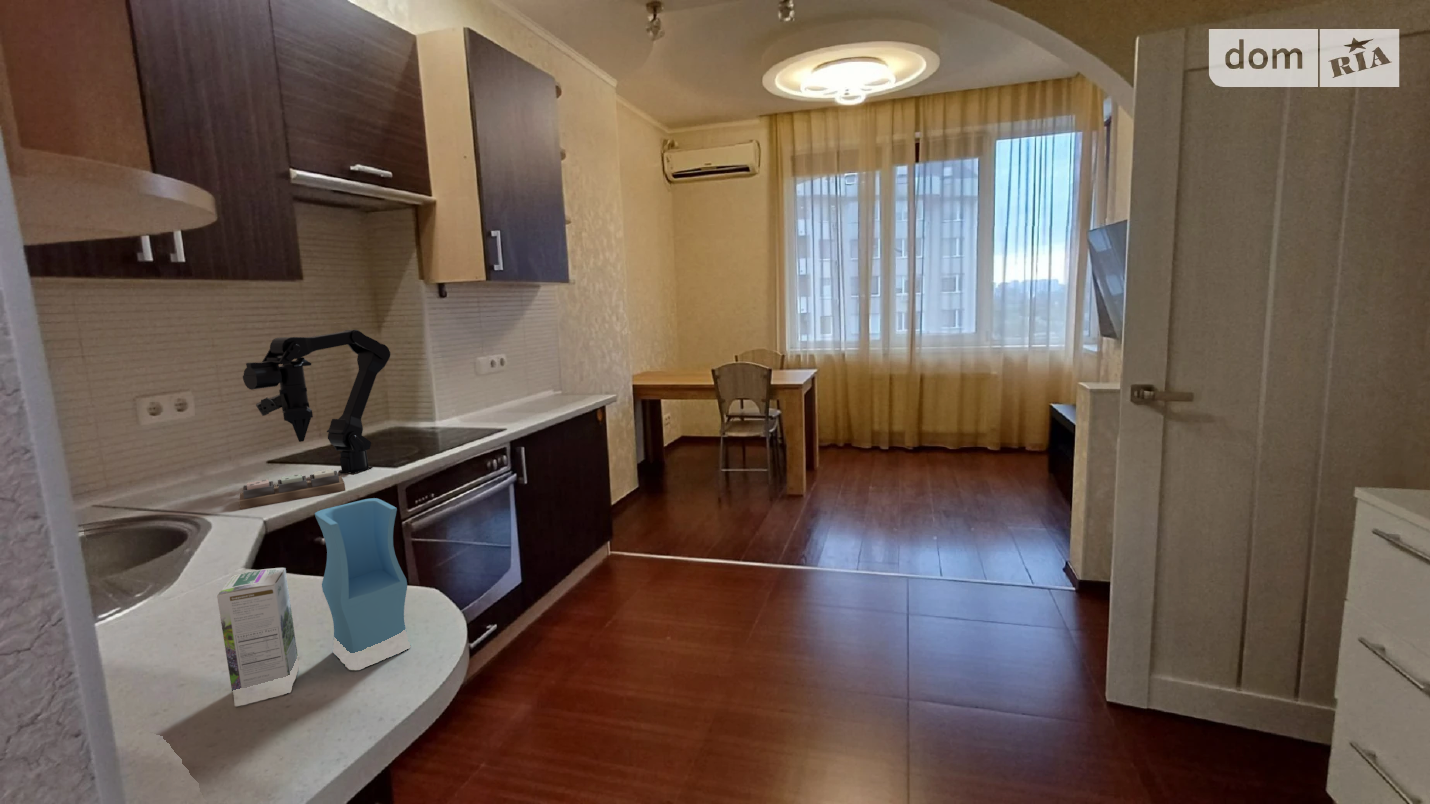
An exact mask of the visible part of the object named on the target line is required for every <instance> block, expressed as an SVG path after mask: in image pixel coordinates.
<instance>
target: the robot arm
mask: <svg viewBox="0 0 1430 804" xmlns="http://www.w3.org/2000/svg"><path fill="white" fill-rule="evenodd" d="M341 346H348V347H349V349H350V350H351V351H352V352H353V353H354V354H356V355H357V359H356V362H357V366H358V371H357V375H356V376H355V379H354V381H353V384H352V388H351V390H350V393H349V396H348V398H347V401H346V405H345V407H344V410H343V413H342V414H341V416H339V418H332V419H331V421H330V424H329V427H328V429H327V431H326V433H328V434H327V440H328V441H329V443H330V444H331V445H332V446H333V447H334V449H335V451H337V452H339V451H340V452H339V454H340V455H339V456H340V457H339V461H340V468H341V469H340V470H337V471H338V472H337V473H342V474H343V473H344V474H358V473H361V472H363V471H367V470H369V469H372V468H374V466H373V465H369V461H368V460H369V459H368V452H367V451H368V450H370V449H371V446H372V445H371V444H372V441H370V440H369V439H368V438H366V437H365V436H363V432H364V428H363V426H364V425H363V422H362V419H363V418H362V417H363V415H364V412H365V410H366V407H367V403H368V401H369V399H370V395H371V393H372V390H373V386H374V383H375V381H376V379H377V375H378V374H379V373H380V372H381V371H382V370H384V368H385V367H386V366H387V363H388V361H389V360H390V358H391V351H390V348H389V347H388V346H387V345H386V344H384V343H380V342H379V341H378V340H376V339H373V338H372V337H370V336H367V335H366V334H364V333H363V332H361V331H360V330H358V329H344V330H343V331H338V332H337V331H336V332H332V333H326V334H321V335H319V334H318V335H313V336H309V337H308V336H307V337H306V336H304V337H303V336H302V337H300V336H299V337H298V336H293V337H292V336H291V337H289V336H288V337H287V336H286V337H280V336H279V337H276V338H273V339H272V341H271V343H270V345H269V349H268V350H267V351H268V352H267V353H266V354H265V356H264V358H263V359H262V361H260V362H257V361H256V362H246V363H245V366H246V368H245V369H244V371H243V375H242V380H243V384H244V385H245V386H246V388H247V389H249V390H253V391H254V390H259V389H260V390H261V389H266V388H267V389H268V388H274V387H277V386H279V389H278V391H279V392H278V393H279V394H277V395H273V396H272V397H268V396H267V397H265V398H262V399H260V402H257V403H256V404H255V406H256V408H257V410H258V411H259V413H260V414H261V415H262V417H263V416H267V415H269V413H272V412H274V411H276V410H279V409H281V410H282V416H283V421H284V422H285V421H286V422H288V424H289V423H290V424H291V425H292V428H293V430H294V433H295V436H296V438H297V440H298V442H300V443H302V442H304V441H305V439H306V435H307V432H308V428H309V425H310V423H311V419H313V417H314V415H313V409H312V408H310V403H309V398H308V388H307V384H306V378H305V372H304V367H308V366H312V362H310V361H308V360H307V359H305V356H309V355H310V354H311V353H313V352H316V351H319V350H324V349H330V348H336V347H341Z"/></svg>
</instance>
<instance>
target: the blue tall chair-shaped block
mask: <svg viewBox="0 0 1430 804" xmlns="http://www.w3.org/2000/svg"><path fill="white" fill-rule="evenodd" d="M397 511H398V509H397V507H395V506H394V505H392V504H390V503H389V502H386V501H385V500H382V499H380V498H377V497H376V498H375V497H373V498H365V499H361V500H357V501H353V502H352V501H351V502H349V503H345V504H340V505H335V506H331V507H327V508H323V509H321V510H318V511H316V512H314V516H315V519H316V521H317V524H318V525H319V527H320V530H321V532H322V535H323V539H324V541H325V546H326V547H325V548H326V552H327V553H326V564H325V570H324V575H323V577H322V582H321V589H322V593H323V595H324V597H325V600H326V603H327V605H328V607H329V610H330V613H331V618H332V621H333V622H332V623H333V638H334V637H335V638H336V639H337V641H339V642H340V644H342V645H343V647H345V648H346V650H347V651H349V652H350V653H355V652H358V651H362V650H364V649H366V648H367V647H371V646H373V645H375V644H378V643H381V642H382V641H385V640H387V639H389V638H391V637H393V636H395V635H397V634H399V633H401V632H402V631H403V630H405V629H406V630H407V628H406V622H405V605H406V604H405V603H406V597H407V590H408V582H407V581H408V580H407V578H406V576H405V574H404V572H403V570H402V568H401V566H400V564H399V561H398V558H397V556H396V552H395V547H394V528H395V527H394V526H395V521H396V516H397Z"/></svg>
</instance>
